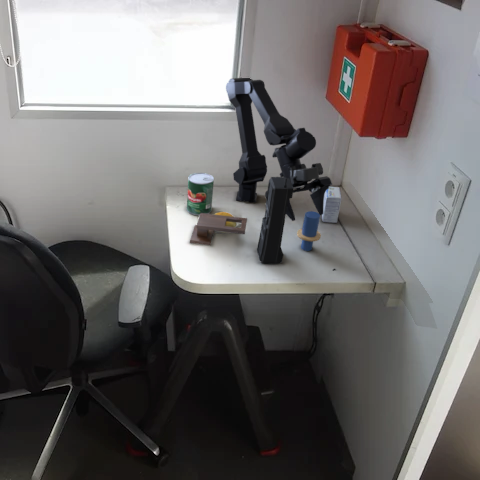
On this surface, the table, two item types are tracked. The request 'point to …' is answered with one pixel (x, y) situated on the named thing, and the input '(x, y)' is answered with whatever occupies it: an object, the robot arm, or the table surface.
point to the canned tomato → (200, 193)
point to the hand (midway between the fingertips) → (307, 217)
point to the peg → (309, 230)
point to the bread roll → (230, 224)
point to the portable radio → (274, 220)
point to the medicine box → (331, 205)
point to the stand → (214, 227)
